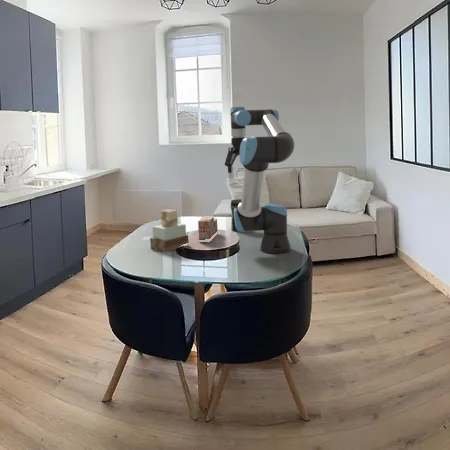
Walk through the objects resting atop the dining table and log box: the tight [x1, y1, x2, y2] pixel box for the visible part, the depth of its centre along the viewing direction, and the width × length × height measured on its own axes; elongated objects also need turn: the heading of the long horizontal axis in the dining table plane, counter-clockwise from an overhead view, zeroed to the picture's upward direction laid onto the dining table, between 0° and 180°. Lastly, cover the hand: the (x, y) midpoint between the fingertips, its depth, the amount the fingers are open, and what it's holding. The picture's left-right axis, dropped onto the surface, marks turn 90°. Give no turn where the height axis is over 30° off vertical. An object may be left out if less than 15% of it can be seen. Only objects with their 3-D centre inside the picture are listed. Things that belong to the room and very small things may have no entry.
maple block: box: [160, 208, 179, 227], centre depth 261 cm, size 6×6×8 cm
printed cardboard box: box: [197, 216, 219, 241], centre depth 281 cm, size 21×6×12 cm, turn 169°
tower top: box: [152, 222, 187, 240], centre depth 263 cm, size 10×14×6 cm
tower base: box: [149, 234, 189, 253], centre depth 264 cm, size 12×16×6 cm
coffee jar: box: [230, 198, 242, 232], centre depth 298 cm, size 10×8×19 cm
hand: (239, 177), depth 266 cm, fingers open, 13 cm apart
